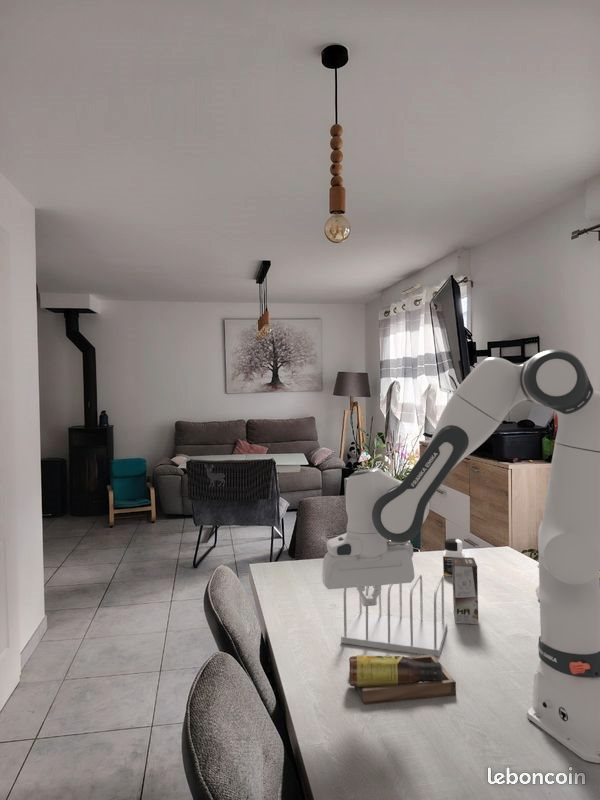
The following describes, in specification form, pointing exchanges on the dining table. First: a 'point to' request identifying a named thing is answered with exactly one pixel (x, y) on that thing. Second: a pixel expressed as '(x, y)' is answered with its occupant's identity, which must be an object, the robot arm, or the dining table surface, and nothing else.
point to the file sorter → (397, 627)
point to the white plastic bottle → (451, 554)
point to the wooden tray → (410, 687)
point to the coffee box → (465, 590)
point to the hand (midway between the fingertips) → (369, 605)
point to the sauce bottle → (391, 671)
